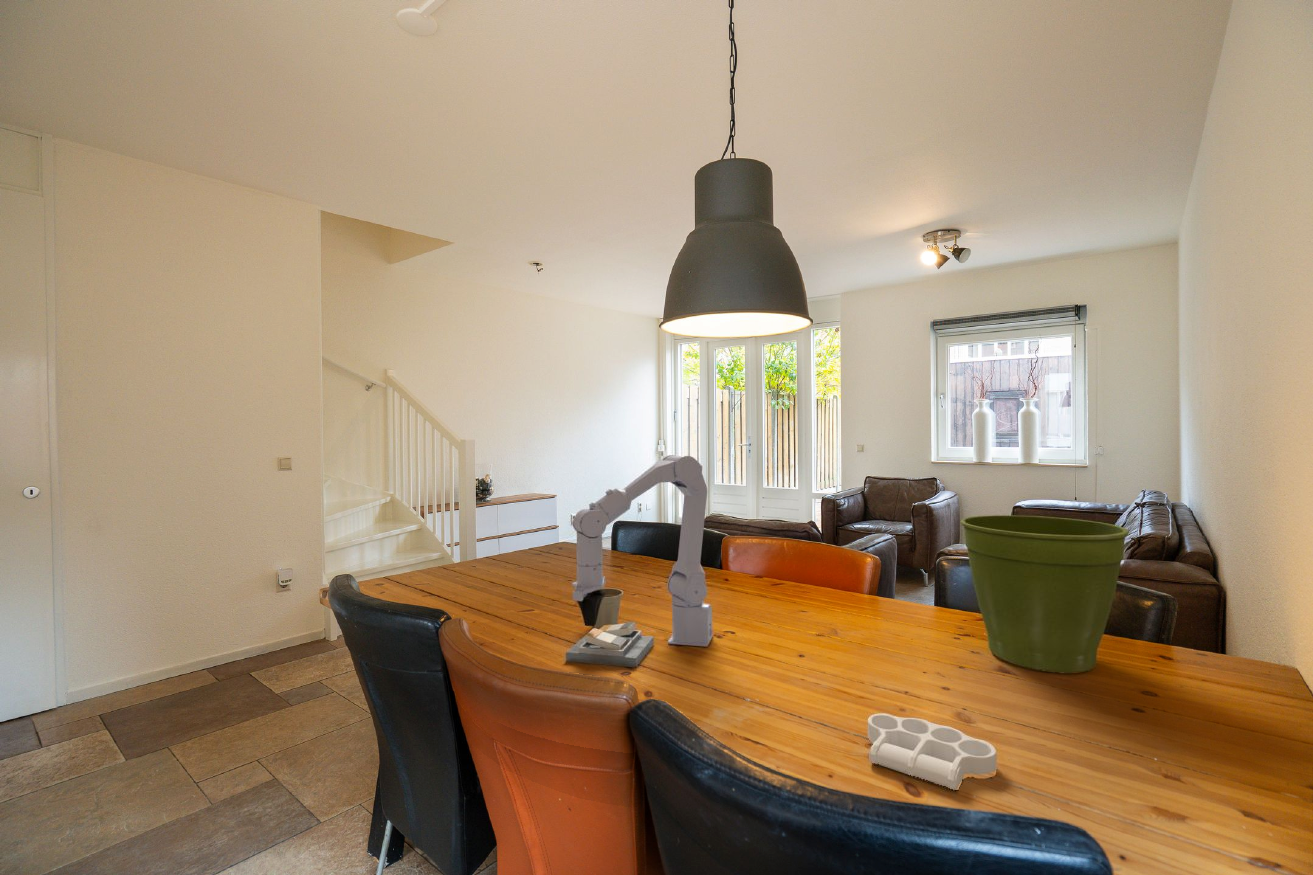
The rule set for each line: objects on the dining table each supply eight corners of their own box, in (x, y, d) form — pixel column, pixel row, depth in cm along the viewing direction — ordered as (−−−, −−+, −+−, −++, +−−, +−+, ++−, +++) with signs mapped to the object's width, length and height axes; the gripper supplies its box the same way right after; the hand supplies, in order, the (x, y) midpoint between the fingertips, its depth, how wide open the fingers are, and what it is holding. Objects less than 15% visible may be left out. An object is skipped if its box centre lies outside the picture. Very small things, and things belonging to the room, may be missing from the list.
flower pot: (622, 631, 148) (621, 597, 148) (584, 632, 148) (584, 597, 148) (625, 620, 157) (624, 587, 157) (589, 620, 157) (589, 588, 158)
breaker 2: (635, 628, 138) (634, 621, 138) (630, 634, 133) (628, 627, 133) (604, 632, 140) (602, 625, 140) (597, 638, 135) (596, 631, 136)
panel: (653, 645, 138) (653, 631, 138) (636, 667, 124) (635, 652, 124) (589, 640, 142) (589, 626, 142) (565, 661, 129) (565, 646, 129)
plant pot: (962, 671, 120) (960, 529, 120) (963, 628, 146) (961, 512, 146) (1149, 699, 106) (1146, 539, 106) (1113, 646, 132) (1110, 518, 132)
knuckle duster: (847, 761, 88) (881, 723, 99) (983, 808, 76) (1004, 759, 88) (847, 738, 88) (881, 703, 99) (982, 782, 76) (1003, 736, 88)
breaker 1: (625, 645, 131) (626, 638, 131) (618, 652, 127) (620, 645, 127) (592, 634, 133) (593, 627, 133) (584, 641, 129) (586, 634, 129)
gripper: (585, 556, 139) (585, 614, 139) (559, 570, 125) (560, 634, 125) (613, 557, 137) (614, 616, 137) (590, 571, 123) (591, 636, 123)
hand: (590, 625), depth 131 cm, fingers closed
